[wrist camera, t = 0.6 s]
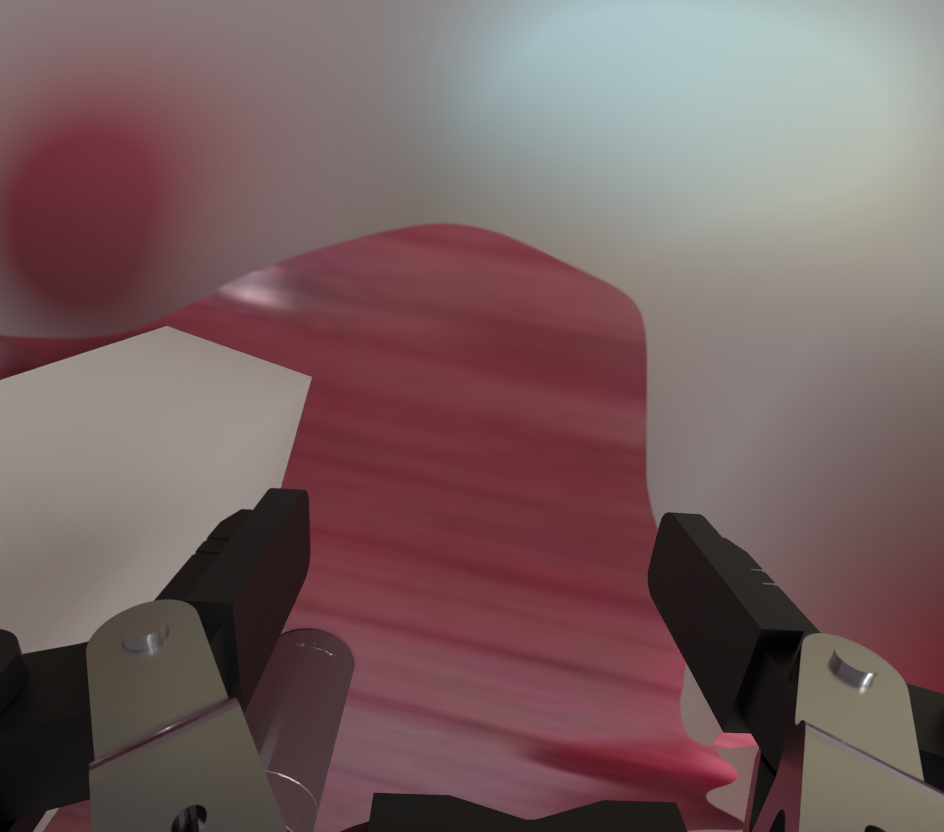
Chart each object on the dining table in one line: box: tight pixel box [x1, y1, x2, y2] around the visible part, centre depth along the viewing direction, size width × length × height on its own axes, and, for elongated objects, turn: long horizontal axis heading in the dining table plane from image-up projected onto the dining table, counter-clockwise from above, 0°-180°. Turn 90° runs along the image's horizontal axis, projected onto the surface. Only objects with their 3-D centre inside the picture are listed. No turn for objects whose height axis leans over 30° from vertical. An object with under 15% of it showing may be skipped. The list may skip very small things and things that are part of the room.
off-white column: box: [0, 326, 312, 832], centre depth 27 cm, size 12×12×32 cm
